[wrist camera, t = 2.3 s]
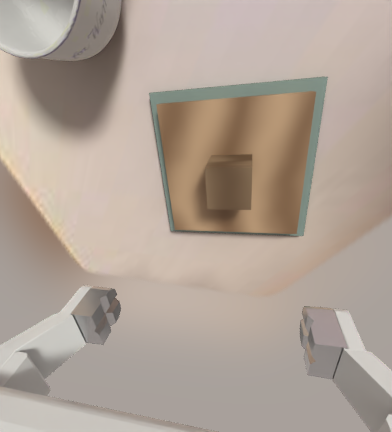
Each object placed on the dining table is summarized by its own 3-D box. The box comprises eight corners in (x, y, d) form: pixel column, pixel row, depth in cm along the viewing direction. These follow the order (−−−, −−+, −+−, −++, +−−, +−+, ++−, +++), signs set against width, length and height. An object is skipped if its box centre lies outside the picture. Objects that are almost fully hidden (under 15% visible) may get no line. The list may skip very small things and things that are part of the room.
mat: (325, 76, 21) (327, 76, 20) (302, 232, 29) (303, 236, 28) (152, 92, 24) (149, 93, 24) (172, 227, 32) (170, 231, 31)
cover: (313, 90, 21) (329, 94, 17) (295, 228, 28) (303, 257, 23) (160, 103, 24) (139, 109, 19) (177, 224, 31) (164, 249, 26)
